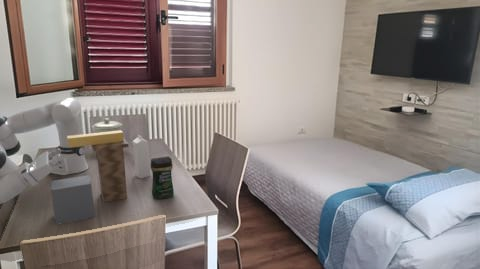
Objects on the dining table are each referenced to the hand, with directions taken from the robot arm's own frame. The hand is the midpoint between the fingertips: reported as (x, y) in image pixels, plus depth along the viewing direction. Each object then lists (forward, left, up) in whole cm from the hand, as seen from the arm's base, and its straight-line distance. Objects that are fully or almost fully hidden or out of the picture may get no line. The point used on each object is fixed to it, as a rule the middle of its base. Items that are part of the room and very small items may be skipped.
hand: (60, 152), depth 144 cm
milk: (+15, +39, -24) cm, 48 cm away
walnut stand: (+14, +13, -24) cm, 31 cm away
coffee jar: (+36, +18, -24) cm, 47 cm away
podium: (+9, -7, -24) cm, 26 cm away
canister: (-27, +75, -24) cm, 84 cm away
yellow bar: (+11, +10, +2) cm, 14 cm away
